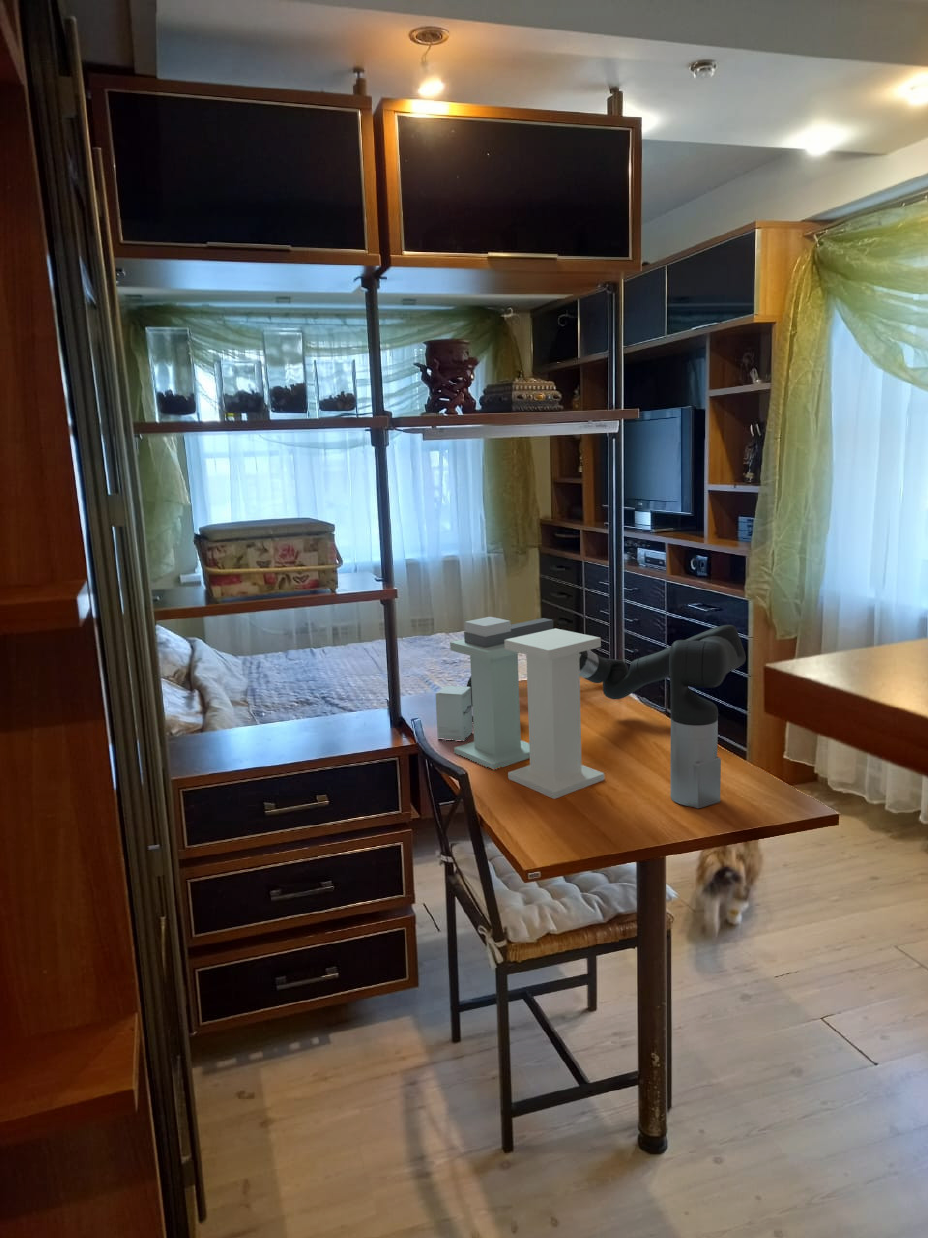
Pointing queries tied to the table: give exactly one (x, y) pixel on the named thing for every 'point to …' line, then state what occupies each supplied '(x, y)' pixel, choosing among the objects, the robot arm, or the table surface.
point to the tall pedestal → (554, 712)
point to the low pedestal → (493, 706)
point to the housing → (501, 630)
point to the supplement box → (454, 712)
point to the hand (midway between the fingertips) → (535, 638)
